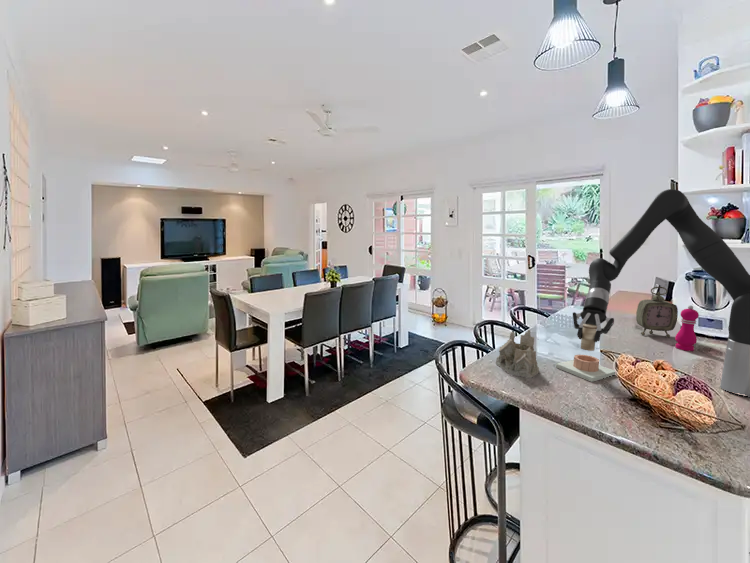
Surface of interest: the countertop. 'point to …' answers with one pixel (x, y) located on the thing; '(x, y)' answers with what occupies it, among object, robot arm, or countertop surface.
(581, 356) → the flat grey base plate
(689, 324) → the pepper mill
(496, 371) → the countertop surface
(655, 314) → the tabletop clock
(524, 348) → the grey-brown toy castle
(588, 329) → the birch plug
